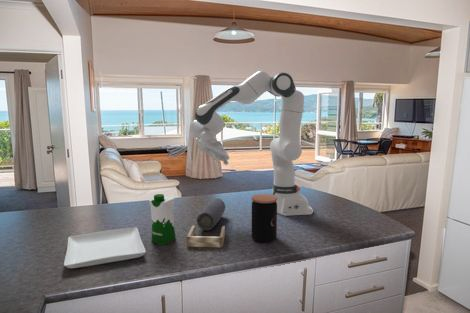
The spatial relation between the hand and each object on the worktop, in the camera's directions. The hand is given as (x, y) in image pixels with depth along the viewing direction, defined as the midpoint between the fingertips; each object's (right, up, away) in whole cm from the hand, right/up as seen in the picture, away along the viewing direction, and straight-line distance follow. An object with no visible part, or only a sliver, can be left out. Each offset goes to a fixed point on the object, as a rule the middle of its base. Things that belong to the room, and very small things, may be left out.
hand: (221, 161), depth 156 cm
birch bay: (-5, -33, -20) cm, 39 cm away
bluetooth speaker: (-4, -30, -1) cm, 31 cm away
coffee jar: (+19, -33, -18) cm, 42 cm away
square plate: (-44, -35, -30) cm, 63 cm away
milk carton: (-23, -33, -20) cm, 45 cm away
